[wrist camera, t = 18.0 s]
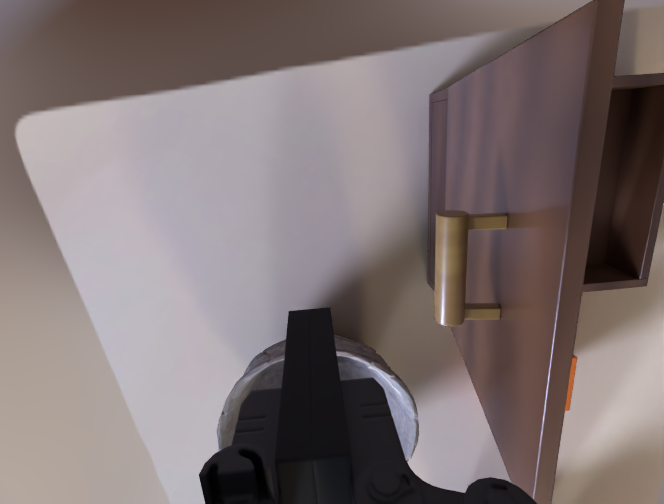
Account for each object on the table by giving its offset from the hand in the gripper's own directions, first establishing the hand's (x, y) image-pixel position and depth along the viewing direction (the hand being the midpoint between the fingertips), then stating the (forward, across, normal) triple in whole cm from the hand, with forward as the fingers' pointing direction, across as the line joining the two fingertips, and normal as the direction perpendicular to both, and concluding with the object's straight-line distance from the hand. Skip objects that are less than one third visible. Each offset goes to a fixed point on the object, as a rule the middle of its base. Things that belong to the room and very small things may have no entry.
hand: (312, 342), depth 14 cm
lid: (+10, +12, 0) cm, 16 cm away
